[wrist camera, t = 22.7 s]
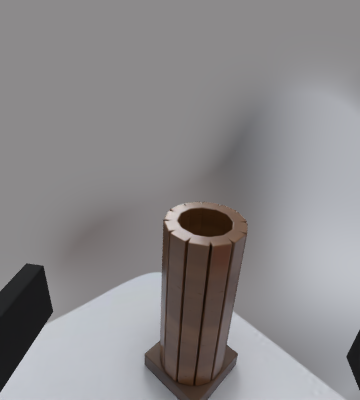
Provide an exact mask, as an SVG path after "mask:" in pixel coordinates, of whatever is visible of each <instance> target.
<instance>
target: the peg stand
mask: <svg viewBox="0 0 360 400" xmlns="http://www.w3.org/2000/svg"><path fill="white" fill-rule="evenodd" d="M237 356H238V353H236V352H235V351H234V350H232V349H231V348H230V347H229V346H227V345H226V350H225V355H224V361H223V366H222V368H221V371H220V372H219V373H218V374H217V376H216V377H215V378H214V379H213V380H211V379H210V382H209V383H205V384H202V385H198V386H195V383H194V384H193V386H189V385H186V384H182V383H178V379H177V380H176V381H175V380H174V379H173V378H172V377H171V376H169V375H168V374H167V373H166V372H165V368H163V366H162V362H161V358H160V341H159V342H158V343H157V344H156V345H154V346H153V347H152V348H151V349H150V350H149V351H148V352H146V353H145V365H146V366H147V367H148V368H149V369H150V370H151V371H152V372H153V373H154V374H155V375H156V376H157V377H158V378H159V379H160V380H161V381H162V382H163V383H164V384H165V385H166V387H167V388H168V389H169V390H170V391H171V392H172V393H173V394H174V395H175V396H176V397H177V398H178V399H179V400H207V399H208V398H209V396H210V395H211V394H212V393H213V391H214V390H215V389H216V388H217V387H218V385H219V384H220V383H221V382H222V380H223V379H224V378H225V377H226V375H227V374H228V373H229V372H230V370H231V369H232V368H233V367H234V365H235V364H236V360H237Z"/></svg>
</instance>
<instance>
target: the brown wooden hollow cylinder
mask: <svg viewBox="0 0 360 400" xmlns="http://www.w3.org/2000/svg"><path fill="white" fill-rule="evenodd" d="M246 222H247V221H246V220H245V219H244V218H243V217H242V216H241V215H240V214H239V213H238V212H236V211H235V210H233V209H231V208H229V207H226V206H224V205H220V206H219V204H215V203H208V202H202V204H201V203H200V202H191V203H185V204H184V205H183V204H180V205H178V206H176V207H174V208H172V209H170V211H168V212H167V214H166V216H165V218H164V220H163V256H162V258H163V259H162V293H161V330H160V358H161V362H162V366H163V368H165V372H166V373H167V374H168V375H169V376H171V377H172V378H173V379H174V380H175V381H176V380H177V379H178V383H182V384H186V385H189V386H193V384H194V383H195V386H198V385H202V384H205V383H209V382H210V379H211V380H213V379H214V378H215V377H216V376H217V374H218V373H219V372H220V371H221V368H222V366H223V361H224V355H225V350H226V345H227V339H228V334H229V328H230V323H231V318H232V312H233V307H234V302H235V296H236V291H237V285H238V280H239V275H240V269H241V264H242V259H243V253H244V248H245V242H246V237H247V225H248V224H247V223H246Z"/></svg>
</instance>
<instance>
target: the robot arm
mask: <svg viewBox="0 0 360 400" xmlns="http://www.w3.org/2000/svg"><path fill="white" fill-rule="evenodd" d="M52 313H53V309H52V304H51V300H50V295H49V290H48V285H47V281H46V276H45V271H44V266H40V265H33V264H26V265H25V266H24V267H23V268H22V269H21V270H20V271H19V272H18V273H17V274H16V275H15V276H14V277H13V278H12V280H11V281H10V282H9V283H8V284H7V285H6V286H5V287H4V288H3V289H2V290H1V291H0V392H1V390H2V389H3V387H4V386H5V384H6V383H7V381H8V380H9V378H10V377H11V375H12V374H13V372H14V371H15V369H16V368H17V366H18V365H19V363H20V362H21V360H22V359H23V357H24V355H25V354H26V352H27V351H28V349H29V348H30V346H31V345H32V343H33V342H34V340H35V339H36V337H37V336H38V334H39V333H40V331H41V330H42V328H43V327H44V325H45V323H46V322H47V320H48V319H49V317H50V316H51V314H52ZM347 359H348V362H349V364H350V367H351V369H352V372H353V375H354V377H355V380H356V382H357V385H358V387H359V390H360V330H359V332H358V334H357V336H356V339H355V340H354V342H353V344H352V346H351V349H350V350H349V352H348V355H347Z"/></svg>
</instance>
